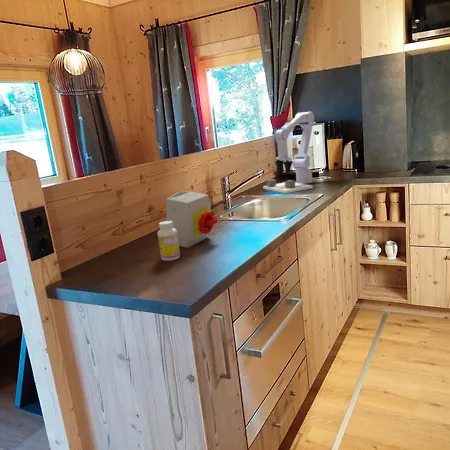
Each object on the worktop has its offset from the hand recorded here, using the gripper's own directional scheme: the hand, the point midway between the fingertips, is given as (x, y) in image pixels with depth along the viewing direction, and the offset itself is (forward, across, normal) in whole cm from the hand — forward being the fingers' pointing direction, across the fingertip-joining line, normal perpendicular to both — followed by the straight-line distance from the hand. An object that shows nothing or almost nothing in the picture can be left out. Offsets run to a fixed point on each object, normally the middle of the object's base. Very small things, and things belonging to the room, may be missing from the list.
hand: (284, 172), depth 259 cm
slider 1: (+7, -7, -6) cm, 11 cm away
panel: (+9, +2, 0) cm, 10 cm away
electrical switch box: (+10, +69, -86) cm, 111 cm away
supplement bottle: (+10, +81, -100) cm, 129 cm away
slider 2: (+8, +8, -2) cm, 11 cm away
